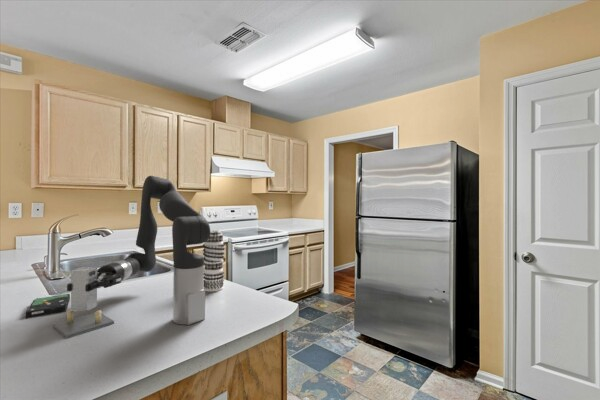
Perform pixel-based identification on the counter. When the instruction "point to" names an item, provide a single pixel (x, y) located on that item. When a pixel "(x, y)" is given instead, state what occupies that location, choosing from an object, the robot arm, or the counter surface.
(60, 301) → the disk drive
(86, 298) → the grey upright block
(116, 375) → the counter surface
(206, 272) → the decorative candle
